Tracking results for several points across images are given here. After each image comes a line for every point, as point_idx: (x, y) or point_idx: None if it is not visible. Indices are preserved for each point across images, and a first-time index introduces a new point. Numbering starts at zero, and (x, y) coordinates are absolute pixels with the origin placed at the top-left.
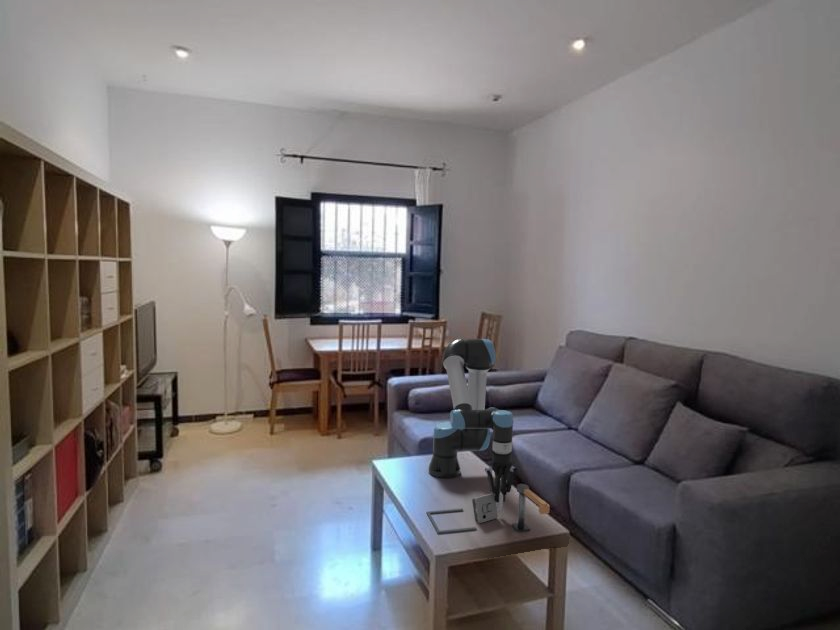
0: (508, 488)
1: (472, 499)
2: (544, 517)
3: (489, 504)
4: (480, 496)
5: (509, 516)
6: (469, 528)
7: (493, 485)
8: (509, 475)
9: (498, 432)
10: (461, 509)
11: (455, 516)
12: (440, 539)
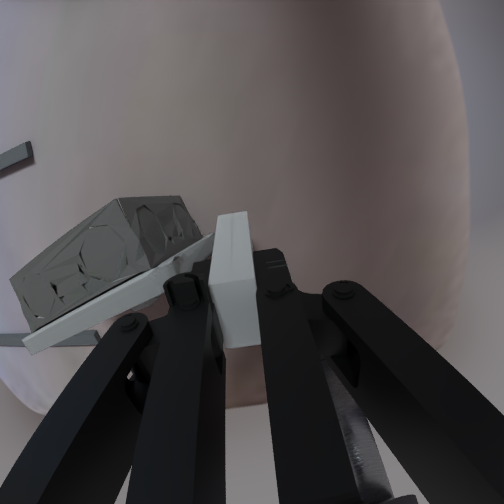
0: (344, 377)
1: (12, 282)
2: (466, 237)
3: (139, 307)
4: (47, 330)
5: (305, 217)
6: (71, 341)
7: (128, 447)
8: (449, 478)
9: None
10: (20, 157)
11: (6, 218)
12: (9, 367)
